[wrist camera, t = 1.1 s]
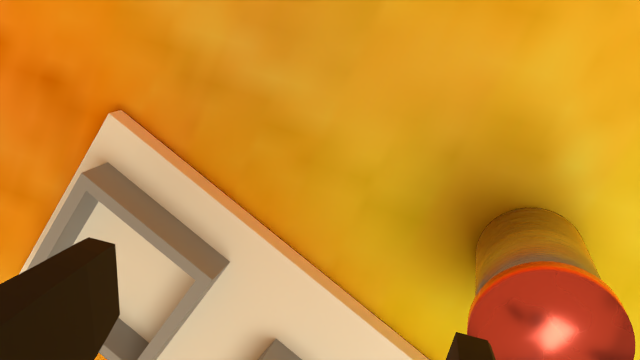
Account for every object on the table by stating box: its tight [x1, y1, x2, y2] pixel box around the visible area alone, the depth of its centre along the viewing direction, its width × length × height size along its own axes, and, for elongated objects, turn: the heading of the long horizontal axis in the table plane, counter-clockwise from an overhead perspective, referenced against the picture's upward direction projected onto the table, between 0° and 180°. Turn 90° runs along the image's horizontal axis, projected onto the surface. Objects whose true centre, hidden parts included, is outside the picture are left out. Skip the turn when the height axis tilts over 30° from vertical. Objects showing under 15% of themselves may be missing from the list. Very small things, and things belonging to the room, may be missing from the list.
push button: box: [467, 208, 635, 360], centre depth 21 cm, size 5×5×7 cm
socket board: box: [19, 110, 429, 360], centre depth 28 cm, size 20×12×3 cm, turn 54°
